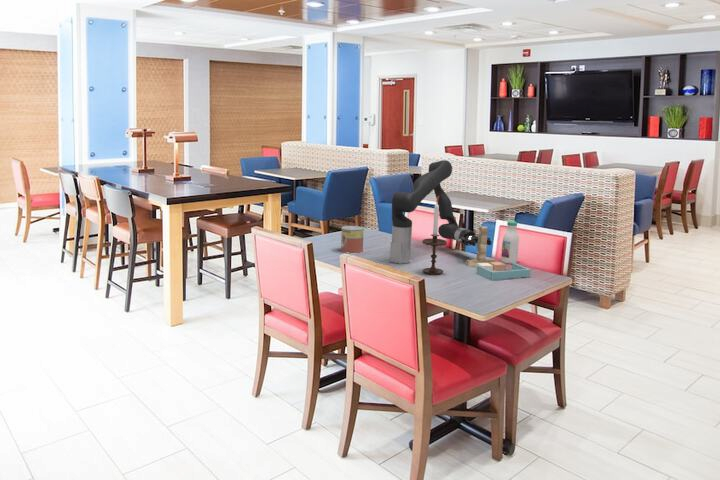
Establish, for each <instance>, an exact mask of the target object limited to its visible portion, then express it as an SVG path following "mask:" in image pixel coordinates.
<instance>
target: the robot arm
mask: <svg viewBox="0 0 720 480" xmlns="http://www.w3.org/2000/svg"><path fill="white" fill-rule="evenodd" d="M452 173H453V165H452V163H451V162H450V161H449V160H444V159H443V160H439V161H435V162H431V163H430V164H429V166H428V172H426V173H423V174H422V175H420V176H419V177H418V178H417V179H416V180H415V181H414V182H413V186H412V189H413V191H412V192H404V191H395V192H394V194H393V196H392V198H391V220H392V221H391V222H392V226H391V227H392V229H391V231H392V232H391V242H390V250H389V251H390V252H389V262H391V263H394V264H401V265H402V264H408V263H410V262H411V249H412V235H413V234H412V231H413V221H412V220H411V219H410V218H409V217H407V216H406V215H405V213H413V212H414V211H415V210H416V209H417V208H418V206H419V205H420V204H421V203H422V201H423V200H424V199H425V198H426V197H427V196H428V195H430V193H432V192H434V195H435V198H436V200H437V197H438V196H439V199H438V205H439V213H438V216H439V219H441V220H446V221H447V222H448V223H443V224H440V226H438V230H437V233H438V235H440V237H441V238H443V239H446V240H454V241H456V242H458V243H460V244H462V245H465V246H473V247H476V246H477V245H478V235H476V233H475V232H474V231H472V230H470V229H468V228H463V227H462V226H461V227H460V226H459V225H458V223H457V220H456V217H455V216H454V212H453V204H452V201H451V199H450V197H449V195H448V194H447V193H446V192H445V191H444V189H443V187H442V185H441V183H442V182H443V181H445V180H446V179H448V178H450V177H451V175H452ZM476 244H477V245H476ZM491 245H492V240H491V238H490V237H488V236H487V246H491Z"/></svg>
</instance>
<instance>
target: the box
mask: <svg viewBox="0 0 720 480" xmlns="http://www.w3.org/2000/svg"><path fill="white" fill-rule="evenodd" d="M511 264H512V266H511V270H504V271H490V270H488V269H486V268H484V267H481V266H479V265H477V269H476V274H478V275H479V276H481V277H484V278H486V279H487V280H490V281H498V280H499V279H501V280H510V279H509V278H514V279H522V278H521V277H526V278H531V272H532V270H531V269H530V268H528V267H525V266H523V265H521V264H518V263H511Z"/></svg>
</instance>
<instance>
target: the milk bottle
mask: <svg viewBox="0 0 720 480" xmlns="http://www.w3.org/2000/svg"><path fill="white" fill-rule="evenodd" d="M506 226H507V228H506V230H505V233H504V234H503V237H502V244H501V257H500V262H502V263H504V264H512V263H516V264H518V256H519V247H520V246H519V244H520V238H519V237H520V236H519V234H518V233H519V232H518V230H517V227H518V221H513V220H509V221H507V225H506Z"/></svg>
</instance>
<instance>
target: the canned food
mask: <svg viewBox="0 0 720 480" xmlns="http://www.w3.org/2000/svg"><path fill="white" fill-rule="evenodd" d="M364 229H365V227H362V226H358V225H345V226H341V234H340V235H341V243H340V252H341V251H342V252H341V253H344V254H347V253H346V252H349V253H348V254H350V255H351V253H357V254H361V252H362V253H364V231H365V230H364Z"/></svg>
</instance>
